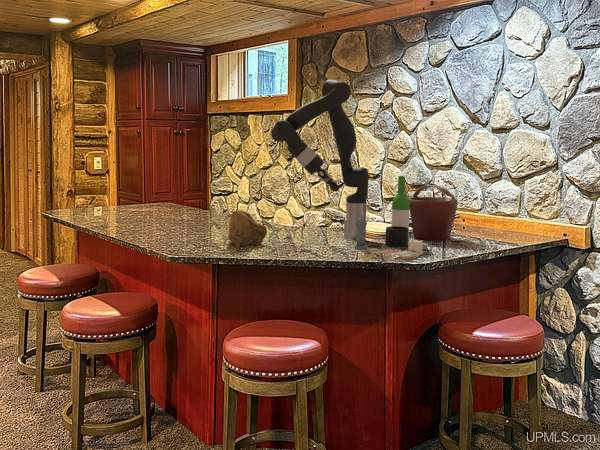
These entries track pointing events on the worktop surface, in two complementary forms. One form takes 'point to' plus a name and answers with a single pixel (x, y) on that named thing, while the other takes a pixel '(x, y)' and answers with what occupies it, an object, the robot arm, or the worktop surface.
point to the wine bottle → (401, 206)
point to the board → (402, 255)
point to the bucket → (432, 215)
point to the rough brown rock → (245, 229)
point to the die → (415, 246)
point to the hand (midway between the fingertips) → (337, 189)
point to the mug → (396, 236)
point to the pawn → (361, 234)
